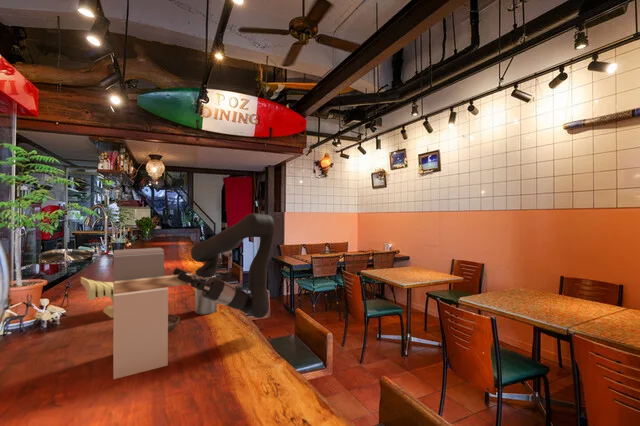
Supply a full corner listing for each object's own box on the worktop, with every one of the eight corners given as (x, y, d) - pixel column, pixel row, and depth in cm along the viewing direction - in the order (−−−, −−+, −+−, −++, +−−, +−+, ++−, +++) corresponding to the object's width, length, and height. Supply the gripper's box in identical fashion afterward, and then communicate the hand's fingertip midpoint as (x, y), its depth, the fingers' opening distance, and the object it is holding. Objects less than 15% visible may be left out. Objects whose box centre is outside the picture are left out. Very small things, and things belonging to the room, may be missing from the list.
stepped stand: (160, 343, 109) (160, 247, 109) (167, 365, 94) (168, 253, 94) (113, 354, 101) (113, 249, 101) (113, 379, 86) (114, 257, 86)
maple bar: (191, 281, 104) (191, 273, 104) (193, 283, 101) (193, 274, 101) (114, 291, 91) (114, 281, 91) (114, 293, 88) (114, 283, 88)
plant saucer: (120, 332, 119) (120, 325, 119) (160, 318, 135) (161, 311, 135) (150, 341, 112) (150, 333, 111) (189, 325, 127) (189, 318, 127)
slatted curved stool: (89, 325, 126) (90, 282, 125) (80, 316, 136) (80, 276, 136) (164, 307, 148) (164, 271, 148) (151, 301, 159) (152, 267, 159)
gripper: (218, 277, 114) (178, 259, 106) (230, 285, 103) (186, 266, 95) (208, 296, 112) (166, 279, 104) (219, 306, 101) (173, 288, 92)
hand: (176, 272), depth 99 cm, fingers open, 8 cm apart
